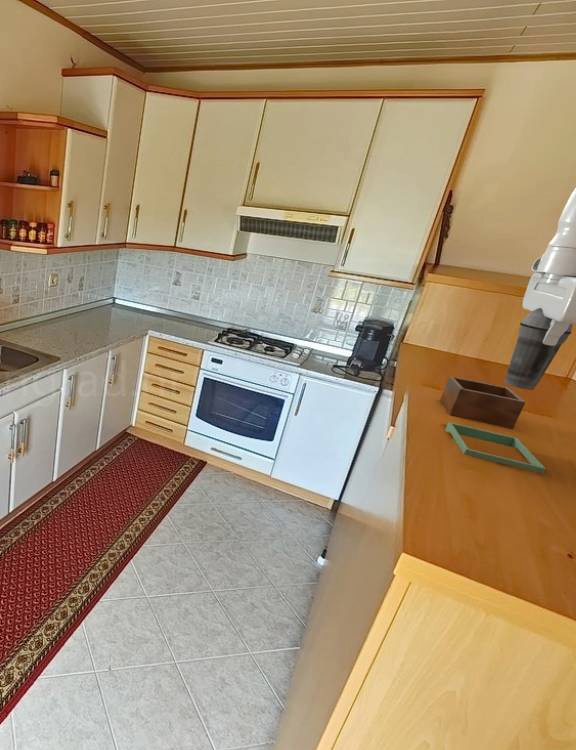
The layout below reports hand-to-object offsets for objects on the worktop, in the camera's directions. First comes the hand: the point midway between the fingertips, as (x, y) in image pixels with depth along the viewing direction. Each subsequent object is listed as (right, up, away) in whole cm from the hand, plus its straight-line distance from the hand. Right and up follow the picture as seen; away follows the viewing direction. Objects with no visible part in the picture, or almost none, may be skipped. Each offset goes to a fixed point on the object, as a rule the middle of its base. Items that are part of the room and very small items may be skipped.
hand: (539, 340), depth 92 cm
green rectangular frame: (-3, -23, +8) cm, 24 cm away
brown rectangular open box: (+14, -16, +32) cm, 38 cm away
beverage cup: (-1, -9, +3) cm, 9 cm away
